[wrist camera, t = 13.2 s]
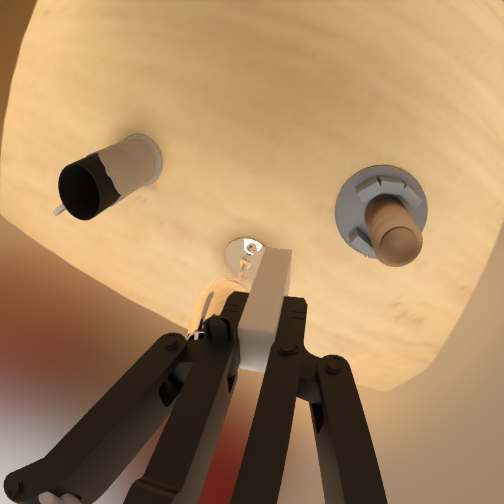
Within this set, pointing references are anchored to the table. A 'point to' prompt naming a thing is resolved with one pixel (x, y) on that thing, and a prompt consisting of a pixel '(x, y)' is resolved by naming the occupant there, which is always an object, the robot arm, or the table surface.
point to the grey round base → (363, 191)
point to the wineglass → (226, 283)
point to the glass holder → (108, 176)
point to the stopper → (392, 231)
